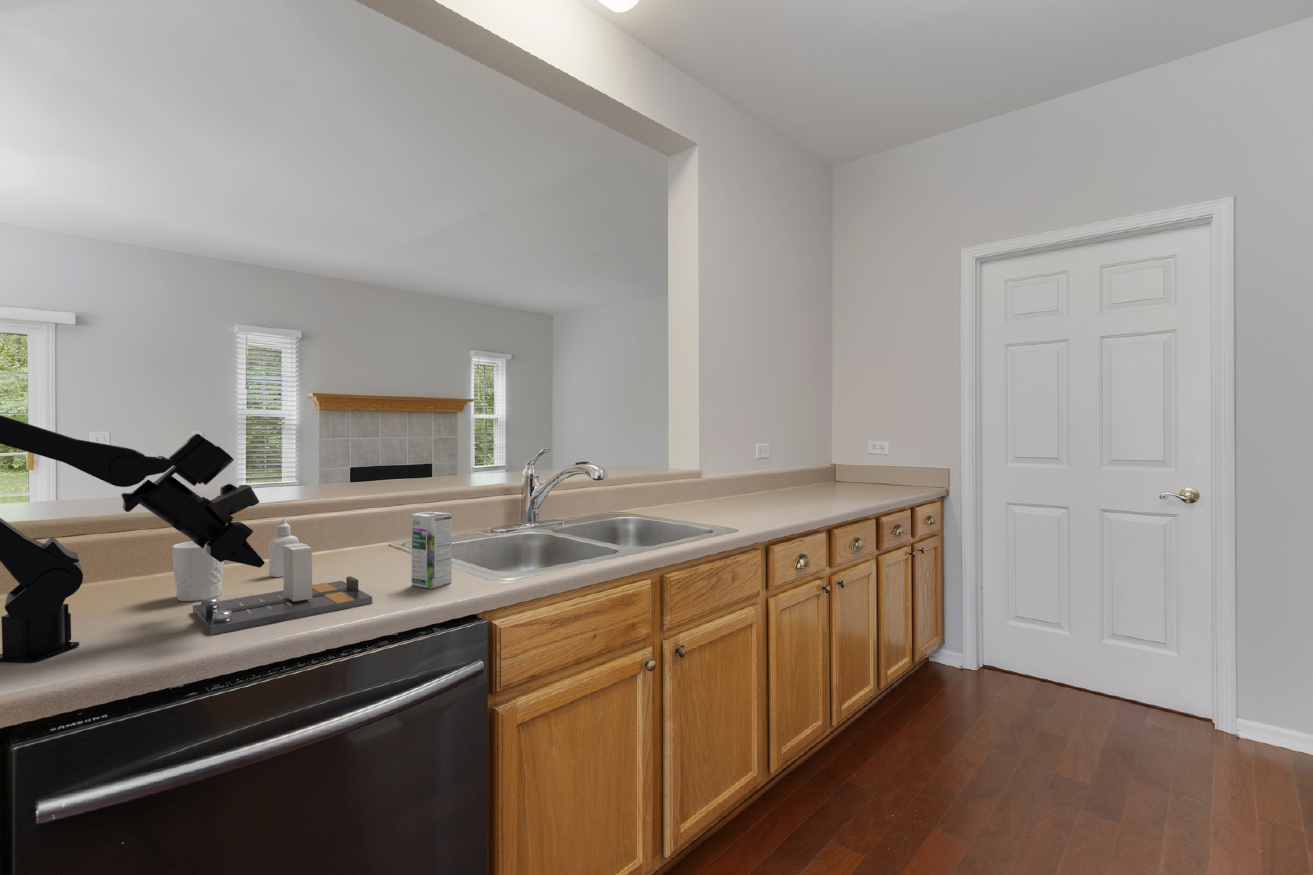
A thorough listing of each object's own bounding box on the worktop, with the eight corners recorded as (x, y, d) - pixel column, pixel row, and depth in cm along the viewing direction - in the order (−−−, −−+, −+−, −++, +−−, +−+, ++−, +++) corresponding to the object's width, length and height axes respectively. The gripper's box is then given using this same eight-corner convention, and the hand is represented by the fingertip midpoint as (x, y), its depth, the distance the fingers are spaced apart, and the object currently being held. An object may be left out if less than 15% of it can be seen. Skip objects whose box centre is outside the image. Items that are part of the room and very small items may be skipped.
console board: (211, 635, 95) (210, 614, 95) (192, 612, 106) (192, 593, 106) (372, 603, 112) (372, 585, 112) (341, 586, 123) (341, 570, 123)
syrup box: (410, 585, 124) (409, 513, 123) (433, 579, 129) (432, 510, 129) (430, 589, 121) (430, 515, 121) (453, 582, 126) (452, 512, 126)
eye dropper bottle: (268, 574, 133) (267, 519, 133) (298, 570, 136) (297, 516, 136) (269, 578, 130) (269, 521, 129) (300, 574, 133) (299, 519, 133)
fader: (292, 601, 107) (292, 548, 107) (283, 594, 112) (282, 544, 111) (312, 598, 110) (311, 546, 109) (302, 591, 114) (301, 541, 114)
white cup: (197, 603, 112) (196, 548, 111) (161, 601, 113) (160, 546, 113) (235, 592, 119) (234, 540, 119) (201, 589, 121) (200, 538, 121)
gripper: (235, 473, 96) (315, 534, 104) (212, 466, 109) (284, 522, 117) (172, 529, 90) (261, 590, 98) (156, 516, 104) (235, 570, 112)
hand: (262, 564), depth 107 cm, fingers closed
